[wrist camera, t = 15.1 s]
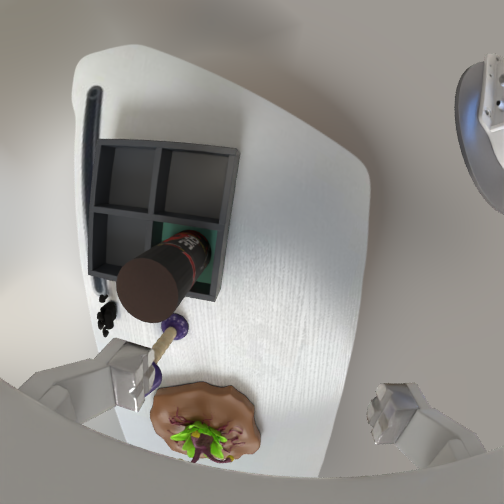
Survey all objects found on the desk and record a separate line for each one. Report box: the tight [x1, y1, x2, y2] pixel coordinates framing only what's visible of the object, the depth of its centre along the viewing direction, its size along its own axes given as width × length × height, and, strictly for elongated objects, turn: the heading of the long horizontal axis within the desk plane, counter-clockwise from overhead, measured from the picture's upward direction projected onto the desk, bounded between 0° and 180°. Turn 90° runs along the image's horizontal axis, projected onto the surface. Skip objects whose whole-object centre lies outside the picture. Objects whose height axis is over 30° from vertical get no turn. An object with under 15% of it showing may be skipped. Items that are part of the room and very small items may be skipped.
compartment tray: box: [88, 139, 240, 302], centre depth 36 cm, size 18×18×5 cm
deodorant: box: [116, 230, 212, 323], centre depth 31 cm, size 6×6×15 cm
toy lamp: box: [144, 313, 188, 397], centre depth 34 cm, size 5×5×17 cm
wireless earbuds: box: [97, 295, 116, 337], centre depth 39 cm, size 7×2×5 cm, turn 174°
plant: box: [150, 382, 261, 463], centre depth 41 cm, size 20×20×11 cm
